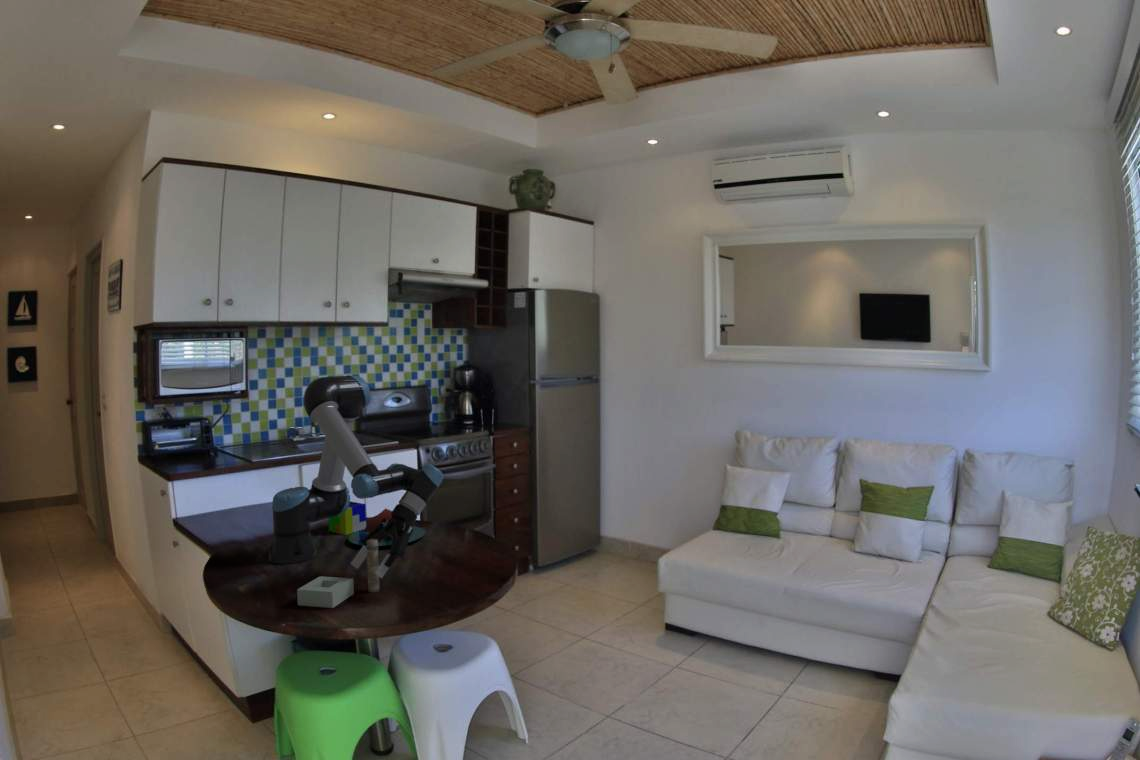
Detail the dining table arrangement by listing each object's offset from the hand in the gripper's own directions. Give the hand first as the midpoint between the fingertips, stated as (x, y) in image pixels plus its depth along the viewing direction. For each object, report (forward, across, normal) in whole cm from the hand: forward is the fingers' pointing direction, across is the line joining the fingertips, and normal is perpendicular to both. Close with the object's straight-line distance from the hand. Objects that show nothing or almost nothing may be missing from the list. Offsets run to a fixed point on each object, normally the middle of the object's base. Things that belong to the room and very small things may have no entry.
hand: (365, 571), depth 199 cm
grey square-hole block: (+12, +4, +3) cm, 13 cm away
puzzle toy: (-18, +67, -28) cm, 75 cm away
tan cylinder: (+3, 0, -6) cm, 7 cm away
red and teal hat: (-20, +44, -30) cm, 57 cm away
